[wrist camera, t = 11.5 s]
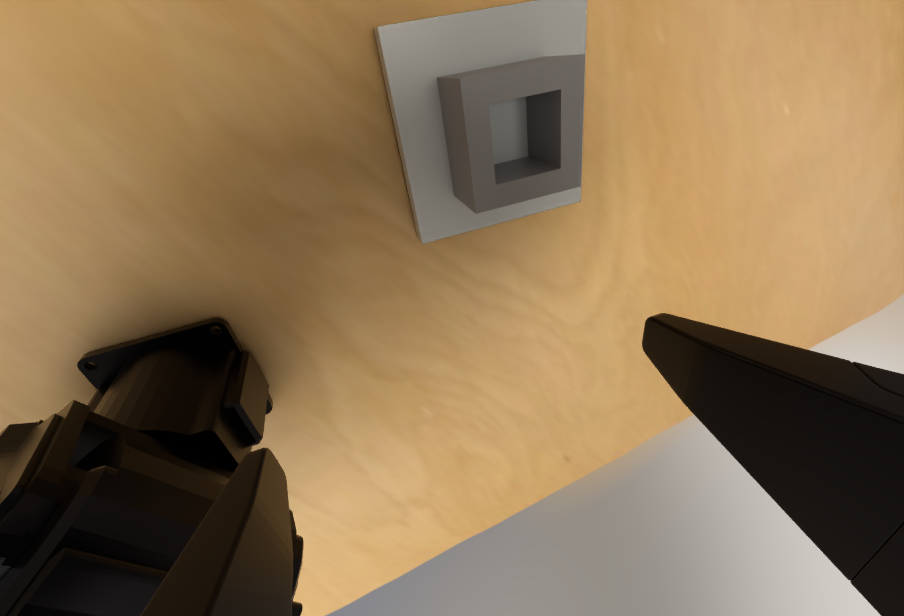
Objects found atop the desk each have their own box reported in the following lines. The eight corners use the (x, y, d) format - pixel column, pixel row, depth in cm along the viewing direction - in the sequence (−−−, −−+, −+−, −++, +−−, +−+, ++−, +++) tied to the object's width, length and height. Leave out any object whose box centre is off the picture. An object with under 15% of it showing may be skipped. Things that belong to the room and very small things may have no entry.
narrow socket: (417, 237, 21) (438, 268, 17) (373, 28, 16) (391, 17, 12) (570, 196, 22) (616, 218, 19) (574, -5, 17) (636, -22, 14)
